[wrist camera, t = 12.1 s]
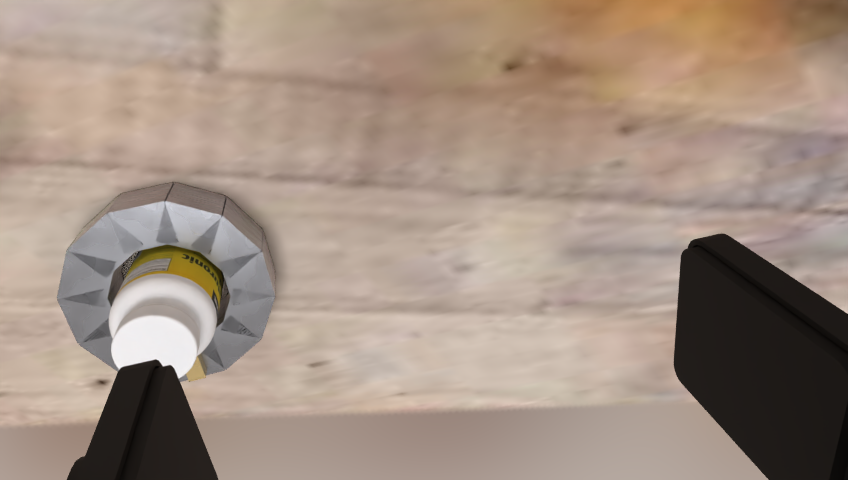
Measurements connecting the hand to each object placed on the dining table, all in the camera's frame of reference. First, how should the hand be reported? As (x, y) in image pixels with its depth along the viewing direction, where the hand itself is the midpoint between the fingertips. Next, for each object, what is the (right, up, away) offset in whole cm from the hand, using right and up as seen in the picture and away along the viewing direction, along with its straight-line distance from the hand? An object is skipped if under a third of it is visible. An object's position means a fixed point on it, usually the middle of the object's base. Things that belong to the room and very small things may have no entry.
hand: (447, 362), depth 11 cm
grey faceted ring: (-16, 0, +28) cm, 32 cm away
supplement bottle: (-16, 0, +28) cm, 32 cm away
